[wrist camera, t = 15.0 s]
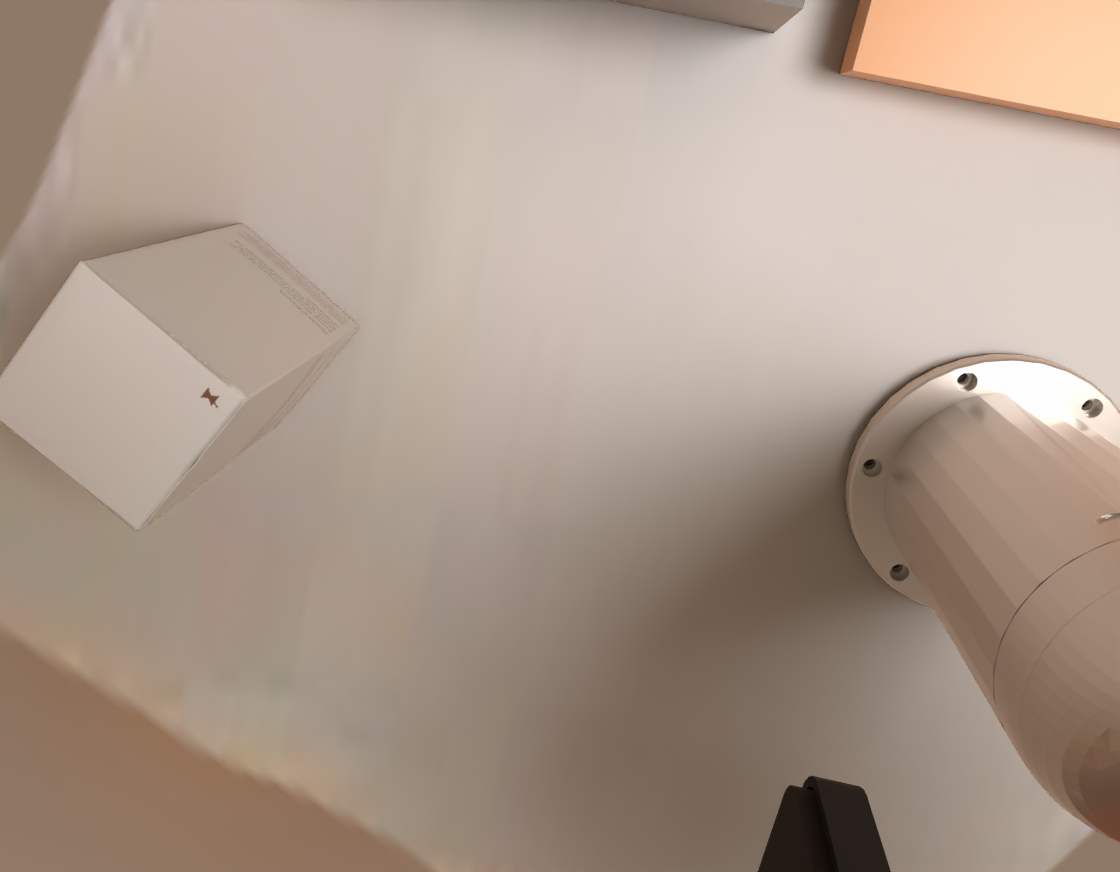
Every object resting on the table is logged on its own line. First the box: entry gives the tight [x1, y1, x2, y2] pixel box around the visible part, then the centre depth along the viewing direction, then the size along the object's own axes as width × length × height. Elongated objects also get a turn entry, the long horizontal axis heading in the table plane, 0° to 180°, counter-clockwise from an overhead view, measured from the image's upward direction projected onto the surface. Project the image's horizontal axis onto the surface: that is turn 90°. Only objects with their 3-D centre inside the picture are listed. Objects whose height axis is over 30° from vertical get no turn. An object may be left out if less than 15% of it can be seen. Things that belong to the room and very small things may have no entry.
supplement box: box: [0, 224, 359, 531], centre depth 38 cm, size 7×7×13 cm
